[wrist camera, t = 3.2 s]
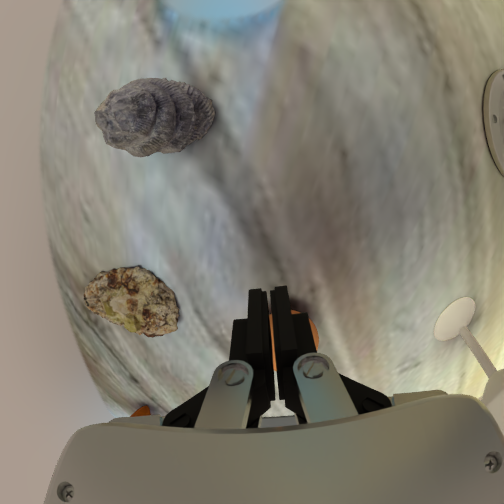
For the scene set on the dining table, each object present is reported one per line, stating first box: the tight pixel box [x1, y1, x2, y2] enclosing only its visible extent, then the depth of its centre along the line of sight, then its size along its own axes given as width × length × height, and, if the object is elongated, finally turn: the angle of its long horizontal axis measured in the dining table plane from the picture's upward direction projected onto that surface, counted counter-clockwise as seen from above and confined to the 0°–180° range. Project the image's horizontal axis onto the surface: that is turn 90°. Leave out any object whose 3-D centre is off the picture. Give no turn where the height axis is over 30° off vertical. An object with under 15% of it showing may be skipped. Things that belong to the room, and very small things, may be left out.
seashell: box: [95, 78, 215, 157], centre depth 14 cm, size 5×5×10 cm
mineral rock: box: [84, 267, 179, 337], centre depth 25 cm, size 11×4×8 cm
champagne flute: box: [434, 297, 504, 435], centre depth 15 cm, size 7×7×24 cm
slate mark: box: [261, 416, 297, 428], centre depth 35 cm, size 12×12×1 cm
